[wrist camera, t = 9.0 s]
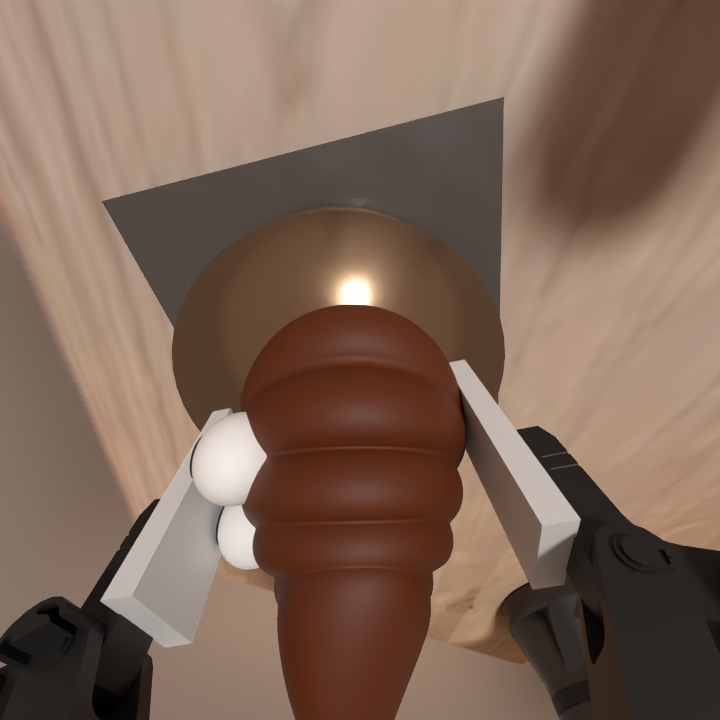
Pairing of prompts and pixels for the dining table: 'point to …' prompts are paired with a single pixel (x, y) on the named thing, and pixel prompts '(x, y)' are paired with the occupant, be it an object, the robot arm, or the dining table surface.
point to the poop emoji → (342, 499)
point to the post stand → (328, 247)
